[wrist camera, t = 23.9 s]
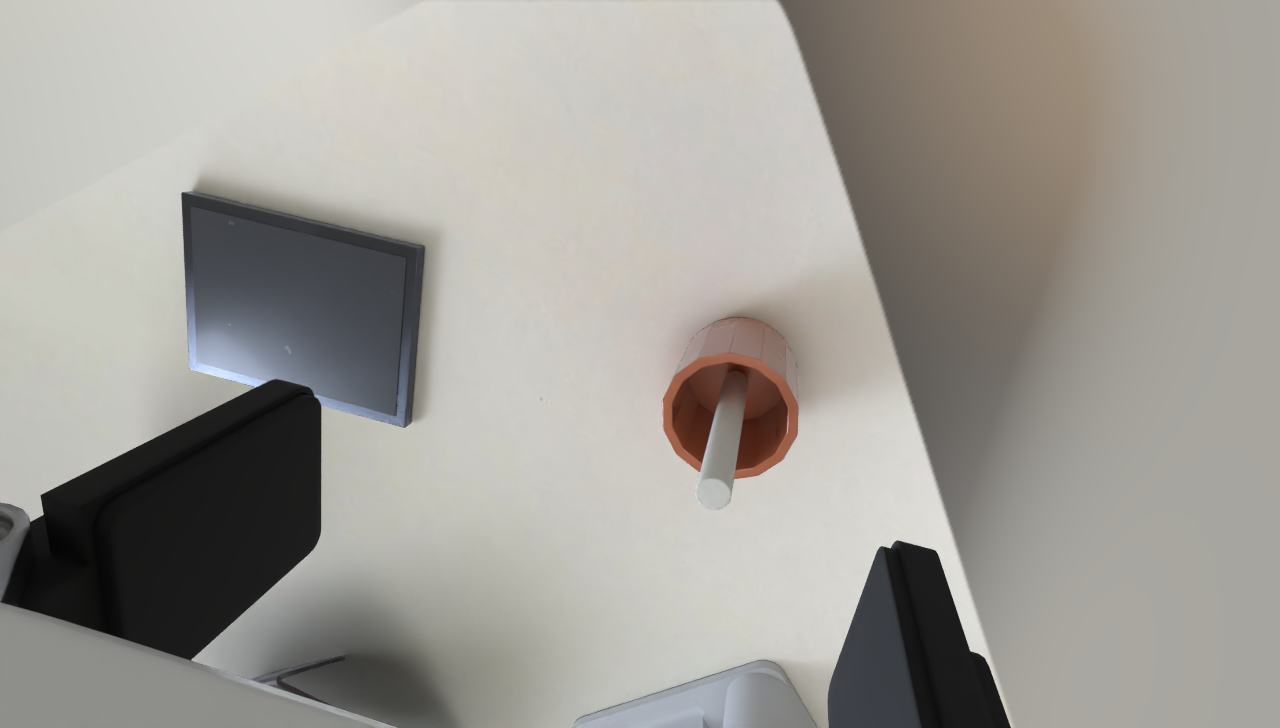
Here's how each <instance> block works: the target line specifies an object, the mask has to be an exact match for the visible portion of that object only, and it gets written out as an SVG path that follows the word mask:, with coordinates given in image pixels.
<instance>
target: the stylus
mask: <svg viewBox="0 0 1280 728" xmlns="http://www.w3.org/2000/svg"><path fill="white" fill-rule="evenodd" d="M747 390H748V379H747V377H746V375H745V374H743V373H742V372H739V371H732V372H729V373H728V374H727V375H726V376H725V378H724V381H723V384H722V388H721V392H720V396H719V400H718V404H717V408H716V412H715V416H714V420H713V424H712V427H711V431H710V435H709V439H708V443H707V447H706V451H705V455H704V459H703V463H702V466H701V470H700V474H699V478H698V482H697V486H696V490H695V494H696V498H697V500H698V502H699V503H700V504H701V505H702V506H704V507H705V508H708V509H712V510H717V509H721V508H723V507H725V506H726V505H727V504H728V503H729V501H730V499H731V494H732V488H733V481H734V475H735V468H736V462H737V455H738V449H739V442H740V436H741V429H742V423H743V416H744V410H745V403H746V397H747Z"/></svg>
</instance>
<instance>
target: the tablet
mask: <svg viewBox="0 0 1280 728" xmlns="http://www.w3.org/2000/svg"><path fill="white" fill-rule="evenodd" d="M181 194H182V217H183V239H184V262H185V284H186V307H187V329H188V352H189V369H191V370H195V371H198V372H202V373H206V374H209V375H213V376H217V377H220V378H224V379H228V380H231V381H235V382H239V383H242V384H246V385H250V386H253V387H258V386H260V385H262V384H264V383H266V382H268V381H270V380H273V379H280V380H284V381H288V382H292V383H295V384H299V385H303V386H307V387H309V388H310V389H312V391H313V393H314V396H315V398H317V399H319V401H320V403H321V405H323V406H327V407H330V408H334V409H338V410H341V411H345V412H349V413H352V414H356V415H360V416H363V417H367V418H370V419H374V420H378V421H381V422H385V423H389V424H392V425H396V426H400V427H403V428H405V427H407V426H408V425H409V424H410V423H411V413H412V400H413V388H414V375H415V362H416V350H417V337H418V324H419V311H420V299H421V286H422V273H423V261H424V247H423V246H419V245H415V244H411V243H406V242H402V241H398V240H394V239H389V238H385V237H381V236H377V235H373V234H368V233H364V232H360V231H356V230H352V229H347V228H343V227H339V226H335V225H330V224H326V223H322V222H318V221H314V220H309V219H305V218H301V217H297V216H292V215H288V214H284V213H280V212H276V211H271V210H267V209H263V208H259V207H255V206H250V205H246V204H242V203H238V202H233V201H229V200H225V199H221V198H217V197H212V196H208V195H204V194H200V193H195V192H182V193H181Z"/></svg>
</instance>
